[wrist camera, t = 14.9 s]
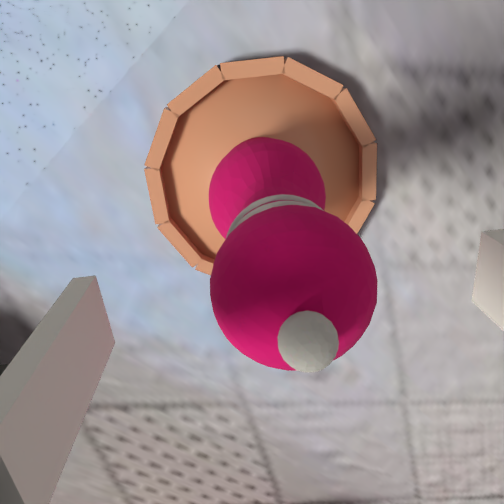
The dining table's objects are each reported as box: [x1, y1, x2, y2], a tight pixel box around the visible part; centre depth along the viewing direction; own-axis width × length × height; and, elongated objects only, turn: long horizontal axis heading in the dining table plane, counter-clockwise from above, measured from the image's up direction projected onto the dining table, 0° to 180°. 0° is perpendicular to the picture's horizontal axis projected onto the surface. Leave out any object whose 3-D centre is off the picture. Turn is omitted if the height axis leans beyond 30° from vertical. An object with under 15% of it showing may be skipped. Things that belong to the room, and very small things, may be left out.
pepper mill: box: [209, 137, 377, 373], centre depth 20 cm, size 7×7×20 cm
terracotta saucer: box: [144, 56, 377, 275], centre depth 29 cm, size 16×16×2 cm
